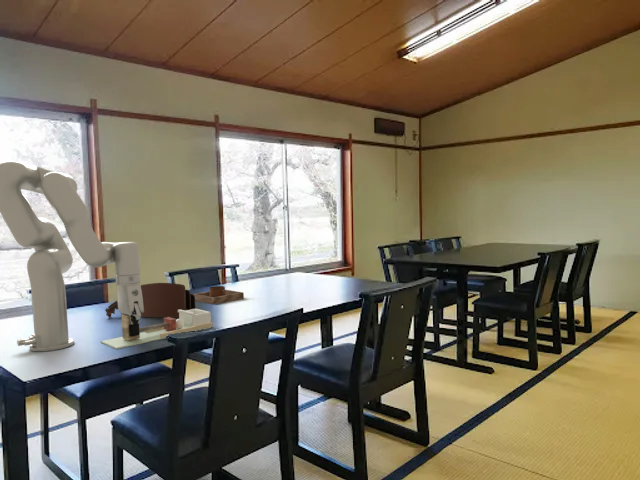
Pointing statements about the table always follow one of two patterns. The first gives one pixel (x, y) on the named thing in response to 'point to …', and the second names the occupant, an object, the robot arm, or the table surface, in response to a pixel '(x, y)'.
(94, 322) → the table surface
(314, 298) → the table surface
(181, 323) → the ball
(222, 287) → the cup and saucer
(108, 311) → the brown jagged arch
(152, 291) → the letter holder
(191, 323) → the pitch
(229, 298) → the tray frame
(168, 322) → the rod
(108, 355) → the table surface
